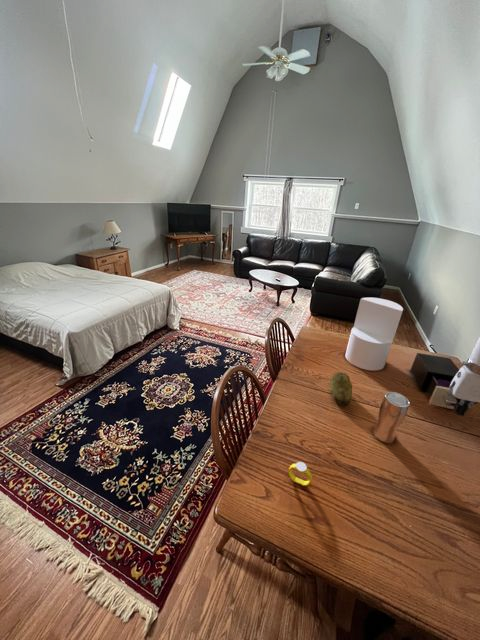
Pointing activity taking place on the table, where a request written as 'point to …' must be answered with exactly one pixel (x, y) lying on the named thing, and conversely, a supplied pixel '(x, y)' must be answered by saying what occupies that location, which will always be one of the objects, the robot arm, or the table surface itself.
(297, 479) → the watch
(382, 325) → the cylinder
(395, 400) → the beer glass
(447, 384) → the bowl
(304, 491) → the table surface
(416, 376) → the cabinet
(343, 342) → the table surface
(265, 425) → the table surface
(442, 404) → the drawer
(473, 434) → the table surface
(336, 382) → the green rounded piece
